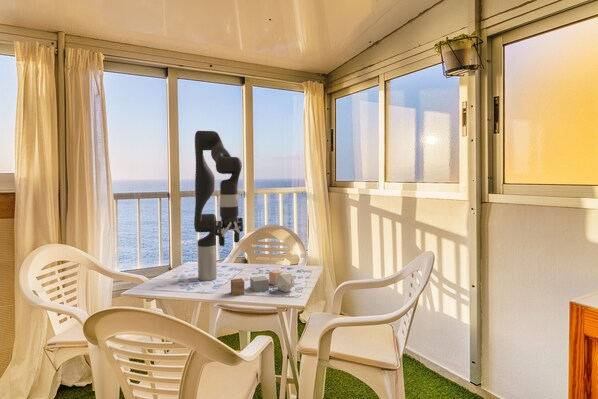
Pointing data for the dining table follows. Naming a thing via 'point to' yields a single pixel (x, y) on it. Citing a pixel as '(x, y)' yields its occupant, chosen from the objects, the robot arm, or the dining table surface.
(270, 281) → the terracotta block
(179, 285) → the dining table surface
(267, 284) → the slate block
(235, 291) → the walnut block
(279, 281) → the die
